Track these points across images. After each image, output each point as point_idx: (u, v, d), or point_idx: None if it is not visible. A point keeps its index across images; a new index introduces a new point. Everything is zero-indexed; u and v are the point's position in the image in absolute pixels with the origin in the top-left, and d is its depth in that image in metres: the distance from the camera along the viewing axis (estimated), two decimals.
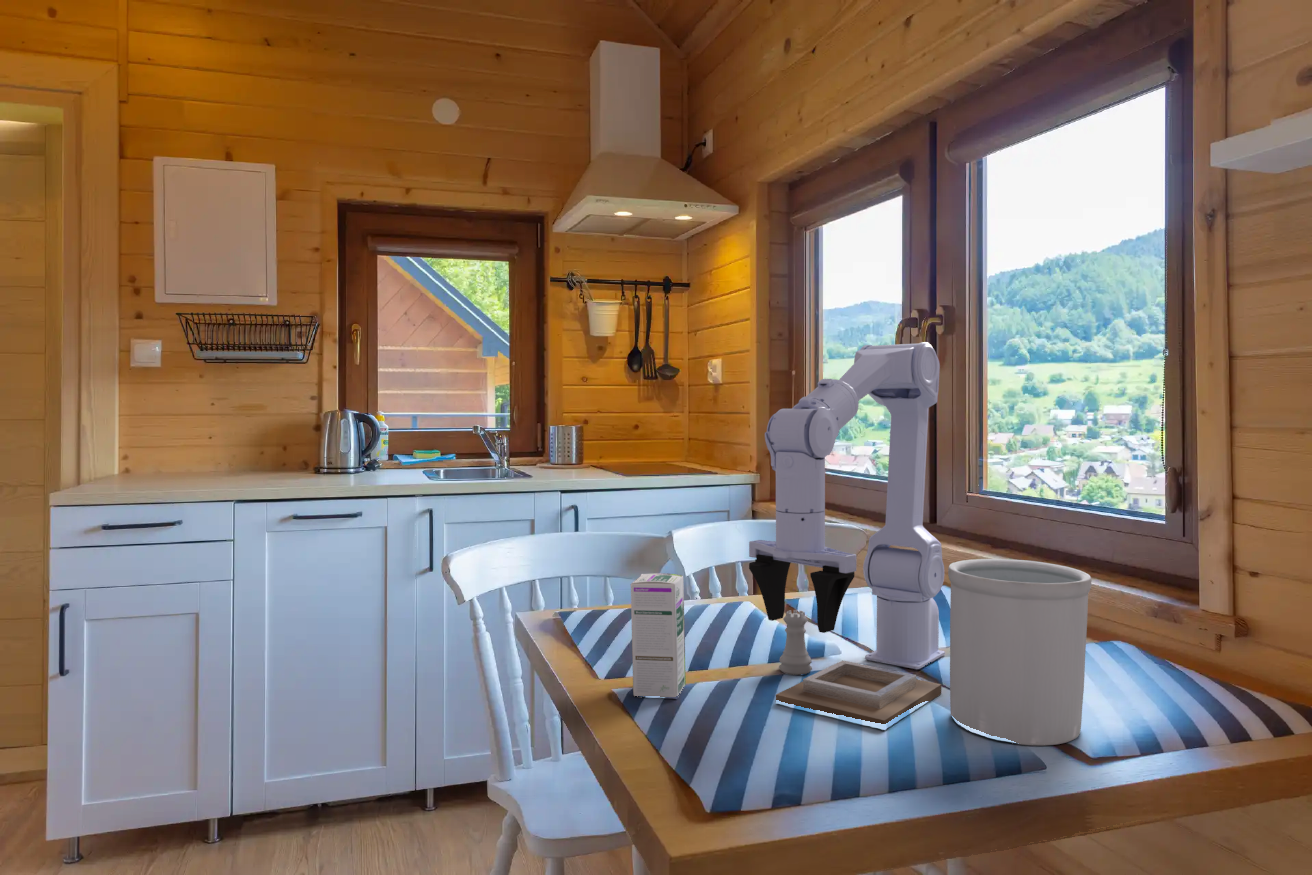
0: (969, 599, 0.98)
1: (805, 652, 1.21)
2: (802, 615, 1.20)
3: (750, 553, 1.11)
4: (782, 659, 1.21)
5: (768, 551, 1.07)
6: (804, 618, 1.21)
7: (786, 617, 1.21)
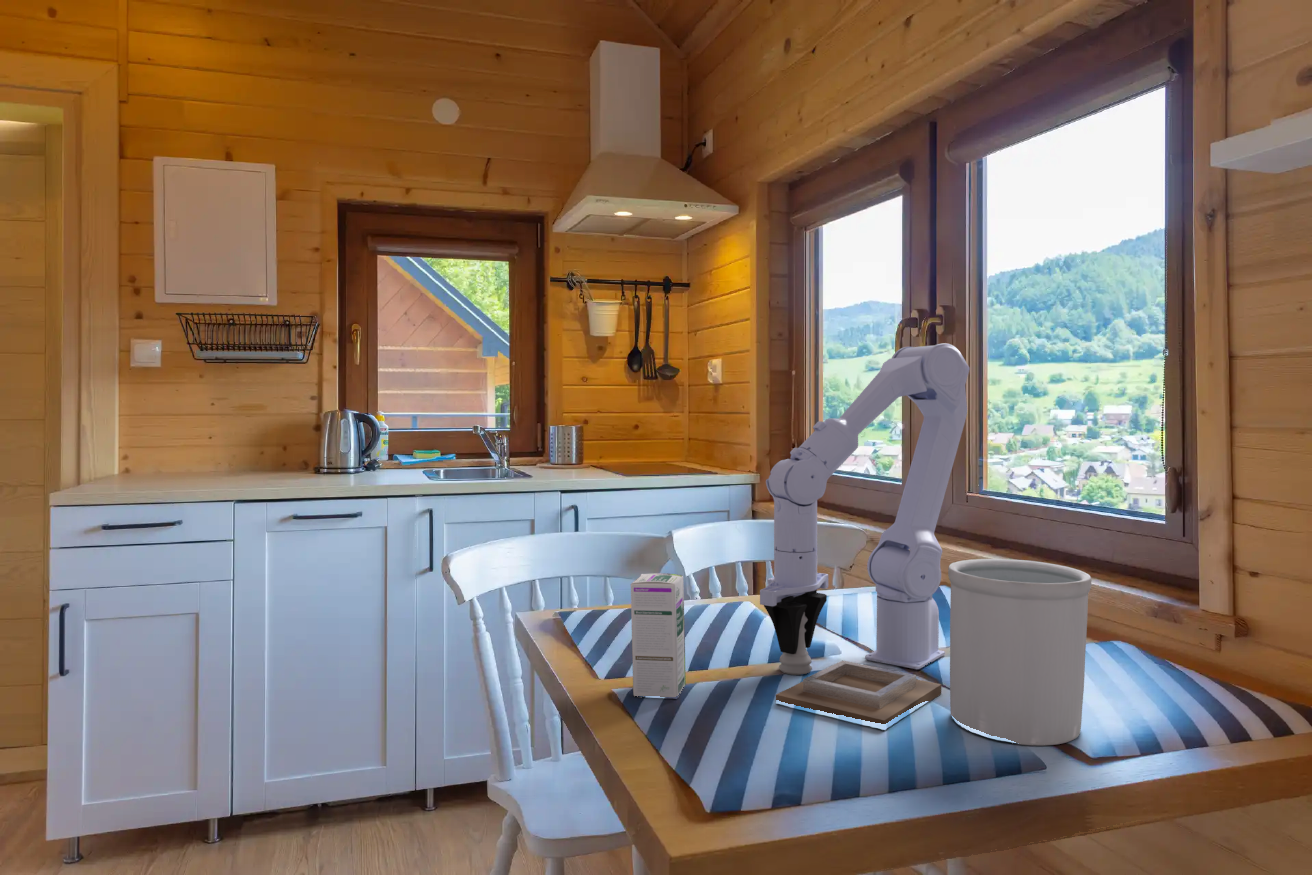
0: (969, 599, 0.98)
1: (805, 652, 1.21)
2: None
3: None
4: (782, 659, 1.21)
5: None
6: (804, 618, 1.21)
7: None
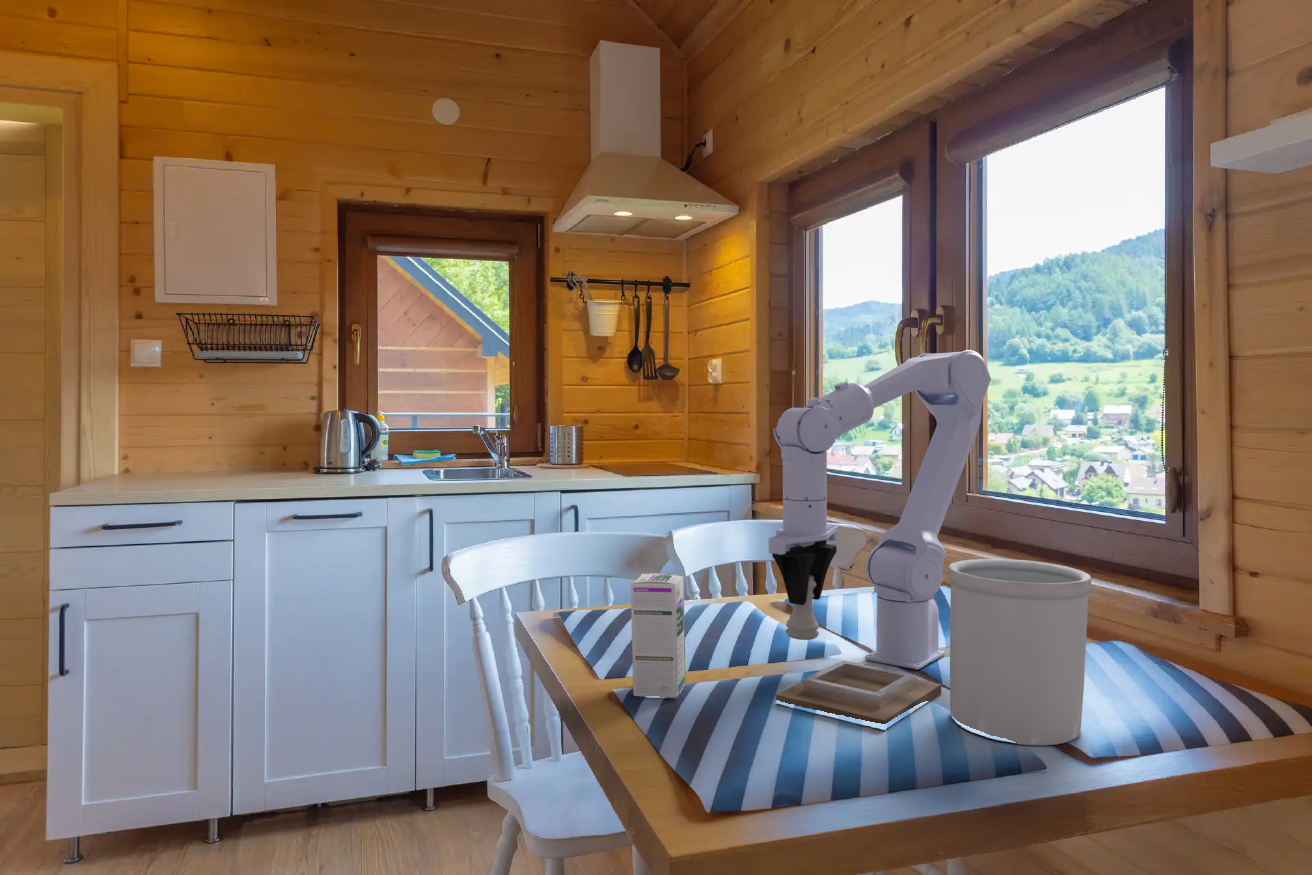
0: (969, 599, 0.98)
1: (812, 617, 1.19)
2: (811, 579, 1.18)
3: None
4: (788, 623, 1.19)
5: None
6: (813, 583, 1.19)
7: None
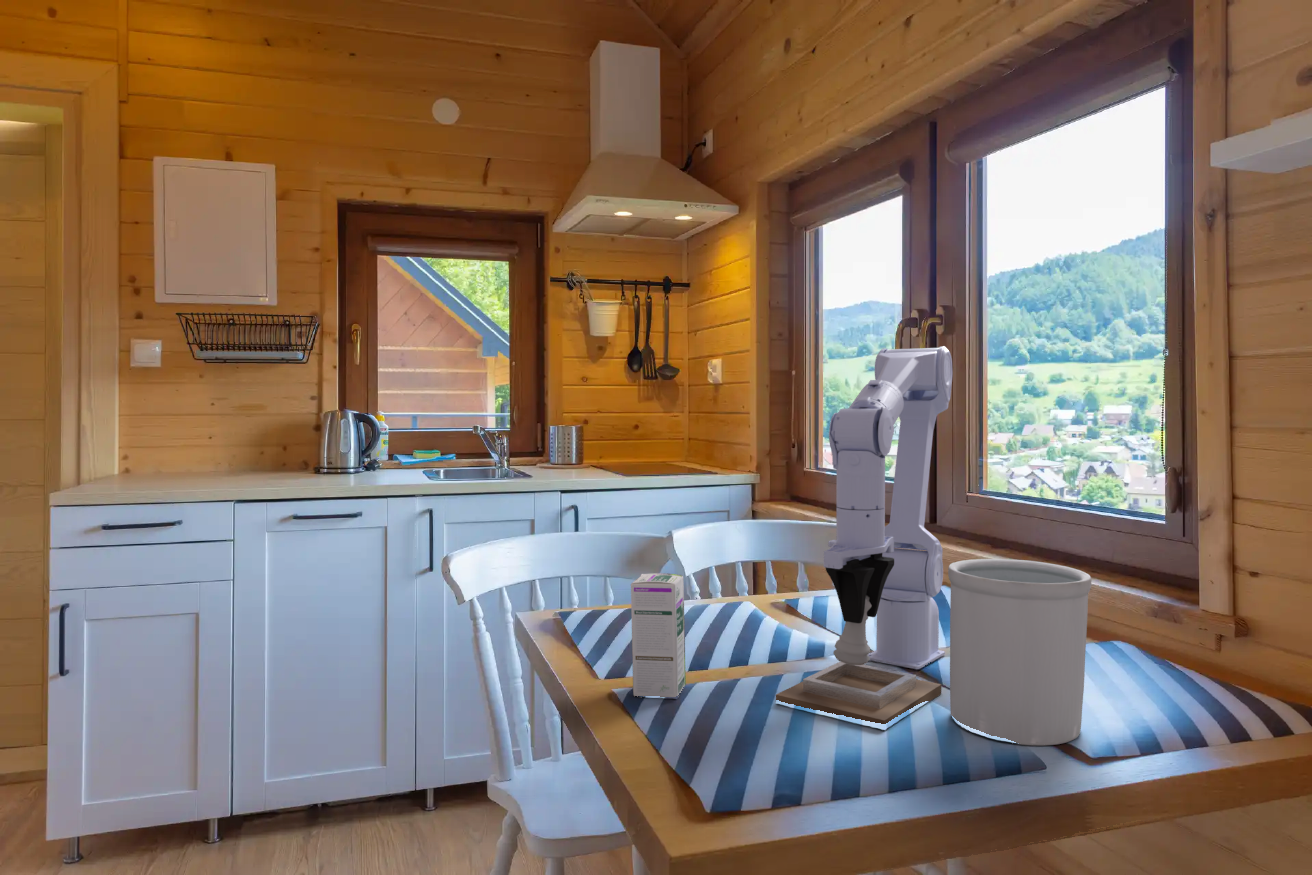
0: (969, 599, 0.98)
1: (864, 641, 1.09)
2: (865, 601, 1.09)
3: None
4: (837, 644, 1.10)
5: None
6: (868, 604, 1.09)
7: None
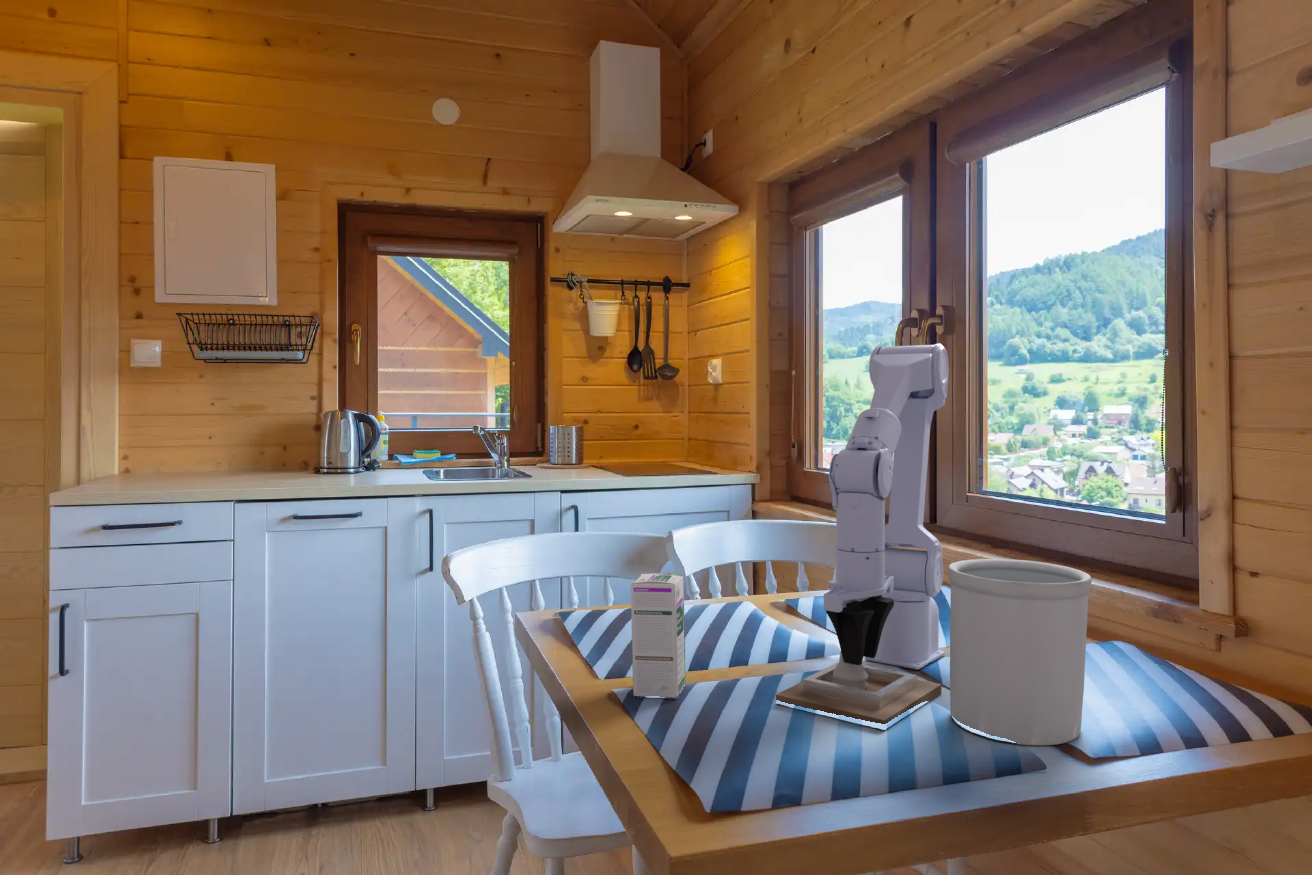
0: (969, 599, 0.98)
1: (861, 667, 1.10)
2: None
3: None
4: (835, 673, 1.10)
5: None
6: None
7: None
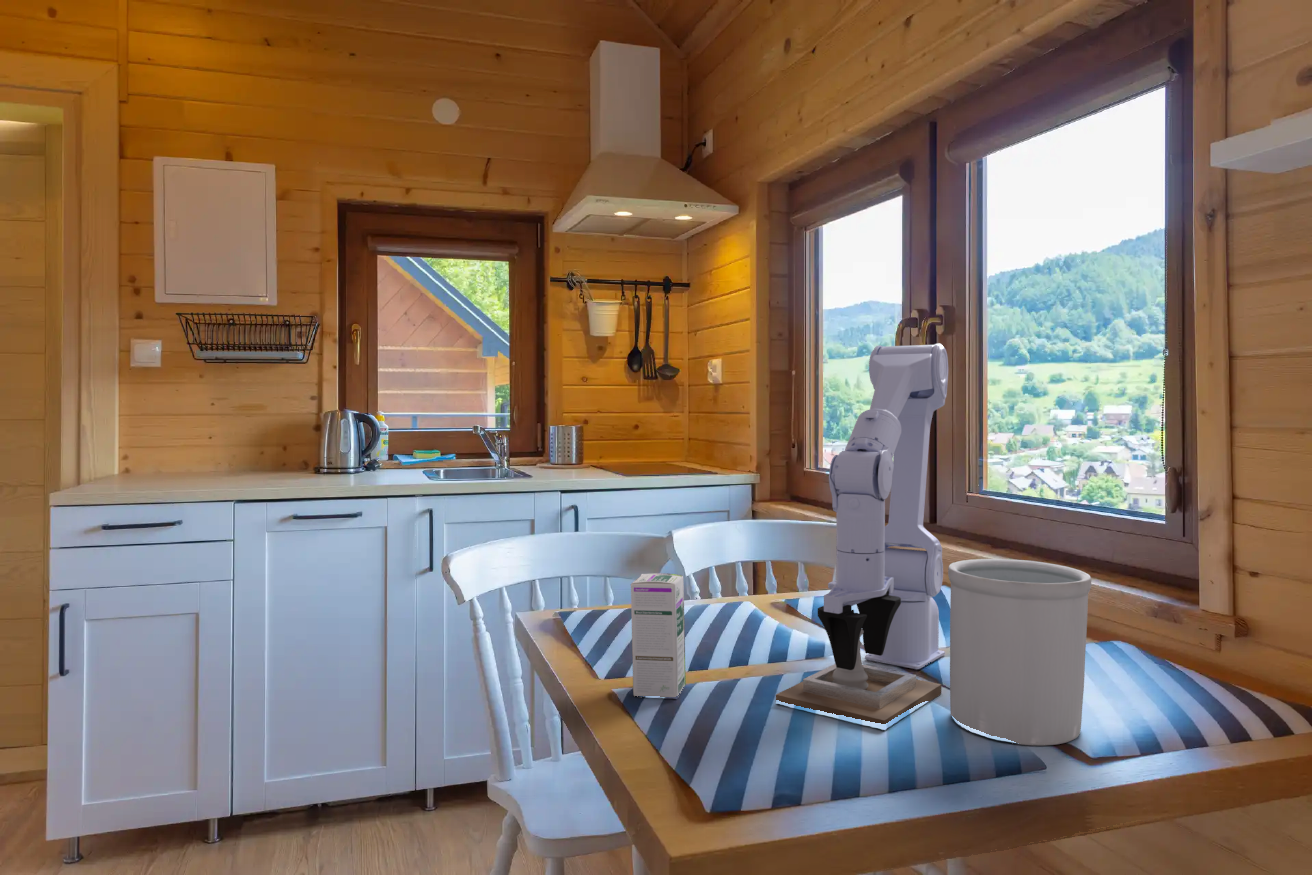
0: (969, 599, 0.98)
1: (860, 668, 1.10)
2: None
3: None
4: (834, 674, 1.10)
5: None
6: None
7: None
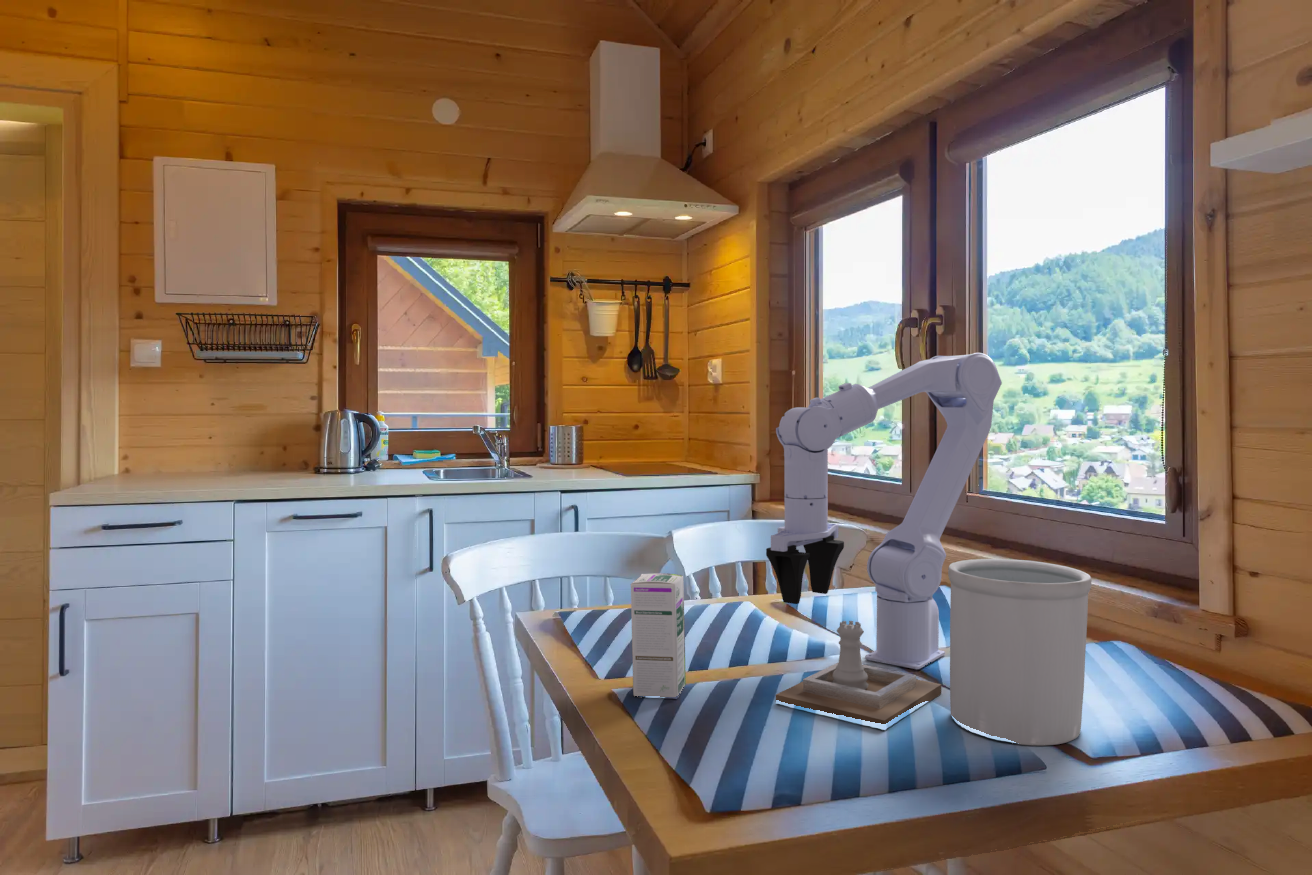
0: (969, 599, 0.98)
1: (860, 668, 1.10)
2: (857, 627, 1.09)
3: None
4: (834, 674, 1.10)
5: None
6: (860, 630, 1.09)
7: (839, 628, 1.10)
